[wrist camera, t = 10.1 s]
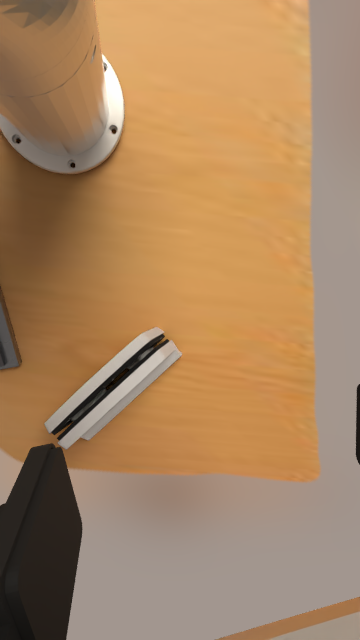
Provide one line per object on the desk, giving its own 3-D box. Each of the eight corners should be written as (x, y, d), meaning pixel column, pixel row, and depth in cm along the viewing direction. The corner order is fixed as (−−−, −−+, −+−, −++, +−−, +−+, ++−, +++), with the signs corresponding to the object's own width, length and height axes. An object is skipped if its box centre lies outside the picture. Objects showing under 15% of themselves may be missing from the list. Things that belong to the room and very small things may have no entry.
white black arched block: (91, 437, 42) (56, 473, 32) (67, 410, 43) (25, 438, 33) (184, 352, 42) (178, 361, 32) (160, 325, 42) (145, 326, 32)
